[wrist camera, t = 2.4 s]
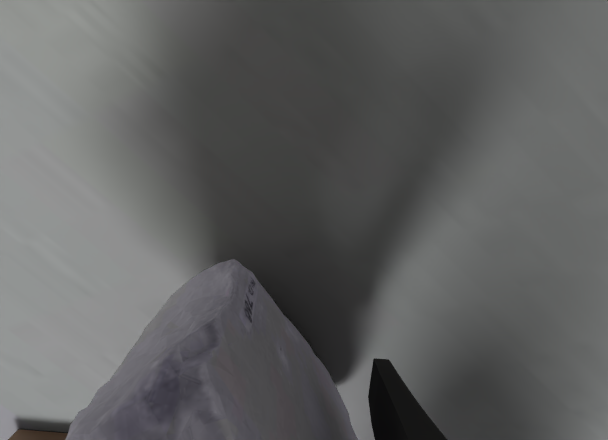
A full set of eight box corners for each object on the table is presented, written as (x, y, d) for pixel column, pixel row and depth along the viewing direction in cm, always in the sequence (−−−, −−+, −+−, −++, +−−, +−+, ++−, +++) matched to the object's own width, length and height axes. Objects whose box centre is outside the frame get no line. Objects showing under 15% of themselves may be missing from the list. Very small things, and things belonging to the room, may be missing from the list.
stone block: (381, 400, 16) (456, 806, 6) (303, 421, 17) (267, 798, 7) (284, 210, 13) (161, 444, 4) (196, 249, 14) (-85, 513, 5)
